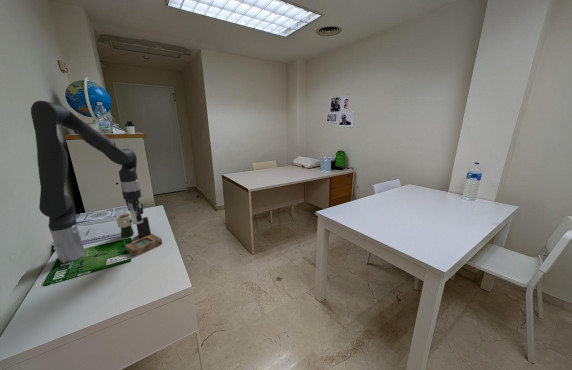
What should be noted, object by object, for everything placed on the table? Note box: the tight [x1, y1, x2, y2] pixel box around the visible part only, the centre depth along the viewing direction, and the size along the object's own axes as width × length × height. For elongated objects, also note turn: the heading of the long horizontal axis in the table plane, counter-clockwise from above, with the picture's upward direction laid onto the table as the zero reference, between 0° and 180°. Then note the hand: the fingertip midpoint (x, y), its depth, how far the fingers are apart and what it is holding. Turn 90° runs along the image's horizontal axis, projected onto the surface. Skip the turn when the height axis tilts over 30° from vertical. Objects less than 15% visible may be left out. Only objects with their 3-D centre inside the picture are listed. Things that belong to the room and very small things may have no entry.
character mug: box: [115, 213, 135, 238], centre depth 127 cm, size 11×7×13 cm, turn 38°
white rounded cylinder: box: [129, 207, 144, 225], centre depth 109 cm, size 5×5×8 cm
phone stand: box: [135, 216, 152, 239], centre depth 126 cm, size 9×6×12 cm, turn 37°
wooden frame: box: [124, 233, 163, 257], centre depth 116 cm, size 14×10×3 cm
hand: (137, 219), depth 110 cm, fingers closed on white rounded cylinder, 4 cm apart
